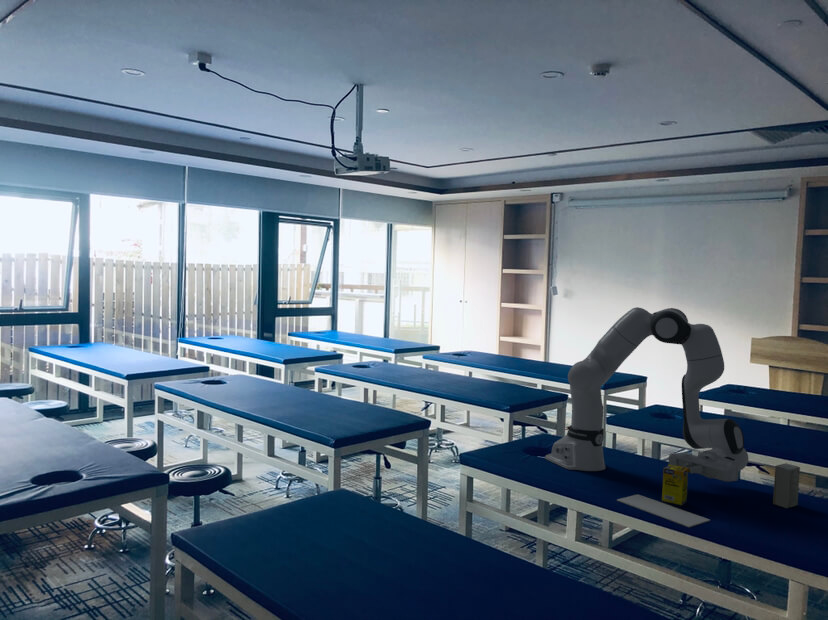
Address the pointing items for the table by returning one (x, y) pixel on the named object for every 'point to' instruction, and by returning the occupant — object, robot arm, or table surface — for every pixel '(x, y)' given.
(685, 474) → the supplement box
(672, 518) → the mat
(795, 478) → the skincare box
